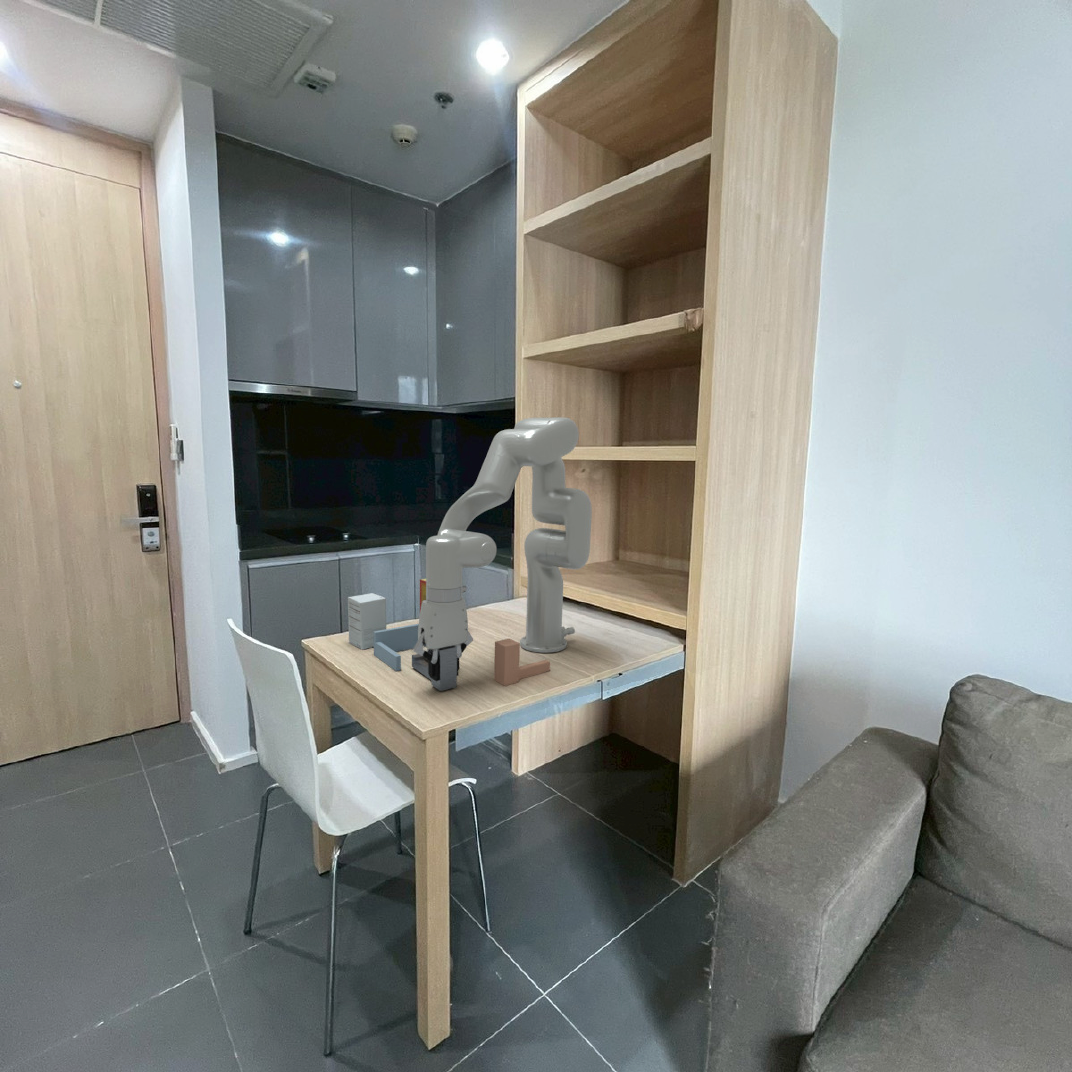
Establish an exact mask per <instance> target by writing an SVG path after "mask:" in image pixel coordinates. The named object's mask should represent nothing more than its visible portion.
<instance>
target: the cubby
mask: <svg viewBox="0 0 1072 1072" xmlns="http://www.w3.org/2000/svg"><path fill="white" fill-rule="evenodd" d="M418 626H419V623H414V624H408V625H404V626H396V627H392V628H386V629H385V630H379V631H374V647H373V655H374V657H376V658H377V659H379V660H380V661H382V662H383V663H385V665H387V666H388V667H390V668H391V669H392V670H394V671H395V672H398V671H402V655H401V654H399V653H398V652H401V651H408V650H413V648H414V647H415V645H416V643H417V641H418ZM424 647H426V645H424Z"/></svg>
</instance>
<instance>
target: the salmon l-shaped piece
mask: <svg viewBox="0 0 1072 1072" xmlns="http://www.w3.org/2000/svg"><path fill="white" fill-rule="evenodd" d="M520 648H521V645H520V642H518V641H516V640H514V639H511V638H506V639H501V640H496V641H494V667H493V668H494V669H493V670H494V673H493V674H494V675H493V679H494V680H493V681H495V682H497V683H499V684H500V685H501V686H503V687H507V686H509V685H512V684H513V685H514V684H516V683H519V681H520V680H522V679H525V678H528V677H532V676H535V675H539V674H543V673H547V672H550V671H549V670H551V661H549V660H547V659H545V660H539V661H536V662H532V663H529V664H525V665H521V666H520V657H521V655H520V654H521V652H520V651H521V650H520ZM546 671H547V672H546Z"/></svg>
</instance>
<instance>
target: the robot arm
mask: <svg viewBox="0 0 1072 1072" xmlns="http://www.w3.org/2000/svg"><path fill="white" fill-rule="evenodd" d="M579 431H580V430H579V428H578V425H577V424H576V422H575V421H574V420H572V419H571V418H569V417H559V416H558V417H529V418H523V419H521V420H519V421H517V422H516V423H515V425H514V428H512V429H511V428H508V429H504V430H501V431H499V432H498V433H496V434H495V435H494V437H493V439H492V441H491V444H490V446H489V449H488V451H487V454H486V457H485V459H484V461H483V463H482V465H481V469H480V471H479V473H478V476H477V479H476V481H475V482H474V484H473V486H472V487H470V488H469V489H468V490H467V491H465V492H464V494H462V495H461V496H460V497H459V498H458V499H457V500H456V501H455V502H454V503H453V504H452V505H451V506H450V507H449V509H448V510H447V512H446V513H445V516H444V517H443V519H442V522H441V525H440V527H439V530H438V531H437V535H433V536H430V537H429V538H428V539H427V540H426V544H425V545H426V546H425V567H426V568H425V572H426V573H425V579H426V600H424V601H422V605H421V610H420V609H419V618H418V624H419V626H418V641H417V643H416V645H415V647H414V648H413V649H412V651H413V652H414V653H415V654H419V655H421V656H423V657H424V658H426V659H427V660H428V674H429V676H430V678H432V679H433V680H435V681H438V680H439V663H438V662H437V657H438V652H439V649H441V648H445V647H450V646H456V647H457V677H458V676H459V671H460V658H461V657H462V656H463V653H464V651H465V650H466V648H467V647H469V645H471V643H472V642H473V641H474V638H473V636H472V635H471V633H470V631H469V621H468V611H467V610H468V609H467V606H466V605H467V604H466V601H465V598H464V596H463V595H464V593H465V592H467V591H468V588H467V585H463V569H467V568H468V569H471V568H473V569H474V568H475V569H476V568H477V569H479V568H483V567H487V566H488V565H490V564H491V563H492V562H493V561H494V560H495V557H496V555H497V544H496V542H495V541H494V539H493V538H492V537H491V536H489V535H488V534H485V533H480V532H474V531H467V529H468V527H469V526H470V524H471V523H472V522H473V520H474V519H476V517H478V516H479V515H481V514H483V513H484V512H486V511H488V510H491V509H493V508H495V507H497V506H500V505H502V504H504V503H506V502H508V501H509V500H510V498H511V496H512V492H513V490H514V487H515V486H516V483H517V481H518V480H517V479H518V477H519V475H520V472H521V469H522V467H531V472H532V484H531V485H532V488H531V513H532V517H533V518H534V520H536V521H537V522H540V523H542V524H543V523H544V524H549V525H557V526H564V527H565V528H564V529H565V530H562V529H555V528H547V527H540V528H539V527H538V528H535V529H533V530H531V531H530V532H529V533H528V534H527V535H526V537H525V540H524V554H525V555H524V557H525V561H526V569H527V589H526V591H527V592H526V620H525V621H526V622H525V623H526V624H525V626H526V627H525V636H523V637H522V638H520V641H519V643H520V648H523V649H524V650H527V651H530V652H533V653H539V654H541V653H542V654H543V653H544V654H548V653H558V652H560V651H561V652H562V651H563V650H565V649H567V646H568V641H567V640H566V639H565V637H567V635H568V636H570V635H573V634H575V633H576V630H575V628H574V627H573V626H571V627H566V628H565V626H563V604H564V603H563V601H564V600H563V599H564V578H563V575H562V572H561V570H560V568H562V569H569V570H580V569H581V568H583V567H585V565H586V564H587V562H588V560H589V556H590V553H591V552H590V551H591V539H592V538H591V537H592V535H591V533H592V518H593V517H592V513H593V511H592V509H593V508H592V503H591V502H592V501H591V499H590V496H589V495H588V493H586V492H585V491H583V490H582V489H578V488H571V487H569V488H568V487H567V486H566V465H565V463H564V461H563V459H562V458H563V457H564V456H567V455H568V454H570V453H571V452H573V450H574V449H576V447H577V445H578V441H579V437H580V432H579ZM424 645H426V646H424ZM424 647H426V649H427V650H425V649H424Z"/></svg>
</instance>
